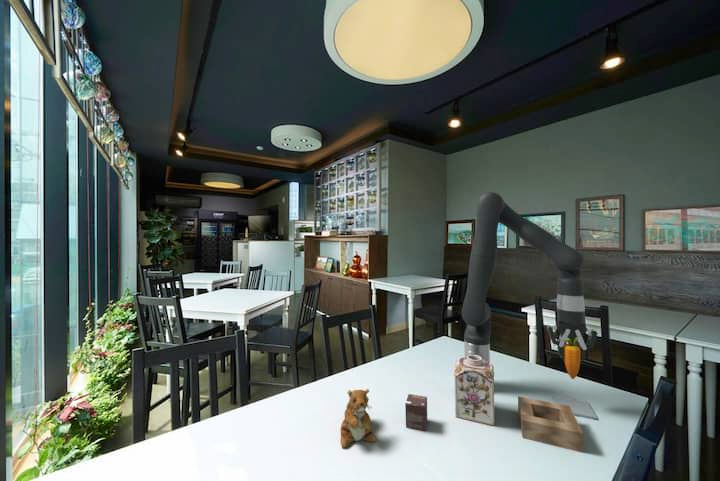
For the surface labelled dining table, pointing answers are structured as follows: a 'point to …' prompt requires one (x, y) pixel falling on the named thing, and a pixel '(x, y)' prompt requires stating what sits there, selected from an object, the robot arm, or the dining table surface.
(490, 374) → the decorative jar
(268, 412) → the dining table surface
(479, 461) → the dining table surface
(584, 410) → the rubber mat
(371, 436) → the stuffed squirrel
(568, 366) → the carrot
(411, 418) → the box
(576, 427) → the socket block
